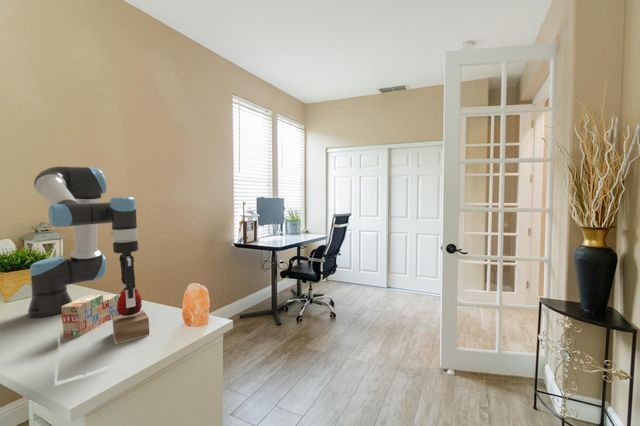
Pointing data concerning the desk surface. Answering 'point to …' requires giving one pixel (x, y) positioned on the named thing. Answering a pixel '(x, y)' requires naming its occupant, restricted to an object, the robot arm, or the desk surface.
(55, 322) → the desk surface
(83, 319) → the stack of blocks
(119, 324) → the plinth
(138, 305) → the red clay folk toy
